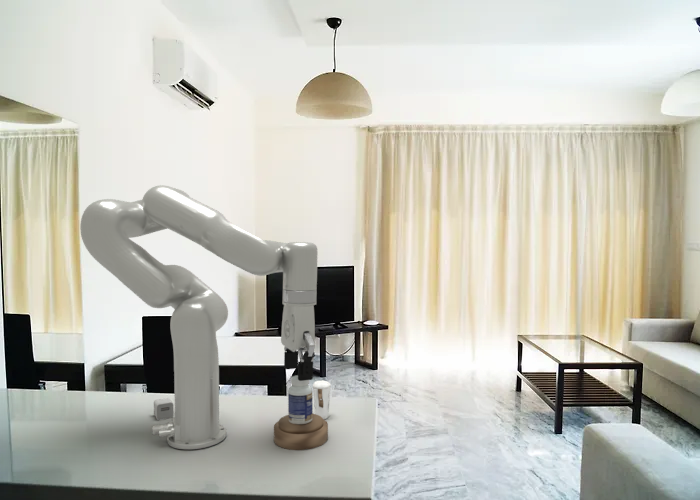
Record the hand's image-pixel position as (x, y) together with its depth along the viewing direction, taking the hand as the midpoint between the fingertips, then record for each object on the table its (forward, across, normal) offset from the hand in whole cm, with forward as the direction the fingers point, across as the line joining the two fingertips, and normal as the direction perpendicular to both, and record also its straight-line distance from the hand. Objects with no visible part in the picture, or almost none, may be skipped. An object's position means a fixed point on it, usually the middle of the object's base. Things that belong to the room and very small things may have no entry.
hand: (297, 374), depth 108 cm
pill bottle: (+11, 0, +1) cm, 11 cm away
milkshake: (+15, -10, +10) cm, 20 cm away
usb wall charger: (+16, -29, -26) cm, 42 cm away
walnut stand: (+14, 0, +1) cm, 15 cm away
